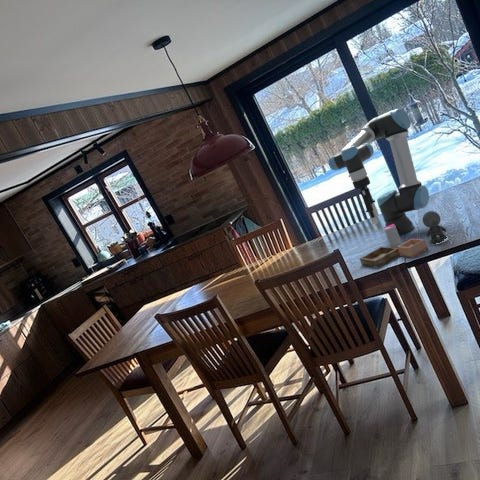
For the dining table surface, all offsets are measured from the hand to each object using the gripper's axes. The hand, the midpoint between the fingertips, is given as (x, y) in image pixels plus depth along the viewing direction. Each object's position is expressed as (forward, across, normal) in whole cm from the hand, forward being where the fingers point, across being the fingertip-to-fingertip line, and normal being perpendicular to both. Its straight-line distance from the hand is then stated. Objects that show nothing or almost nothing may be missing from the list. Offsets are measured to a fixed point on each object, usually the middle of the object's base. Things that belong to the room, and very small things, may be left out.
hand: (376, 219), depth 209 cm
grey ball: (+20, 0, +11) cm, 23 cm away
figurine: (+21, -5, +23) cm, 32 cm away
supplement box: (+21, -16, +3) cm, 27 cm away
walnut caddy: (+21, -4, -5) cm, 22 cm away
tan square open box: (+21, 0, +11) cm, 24 cm away
